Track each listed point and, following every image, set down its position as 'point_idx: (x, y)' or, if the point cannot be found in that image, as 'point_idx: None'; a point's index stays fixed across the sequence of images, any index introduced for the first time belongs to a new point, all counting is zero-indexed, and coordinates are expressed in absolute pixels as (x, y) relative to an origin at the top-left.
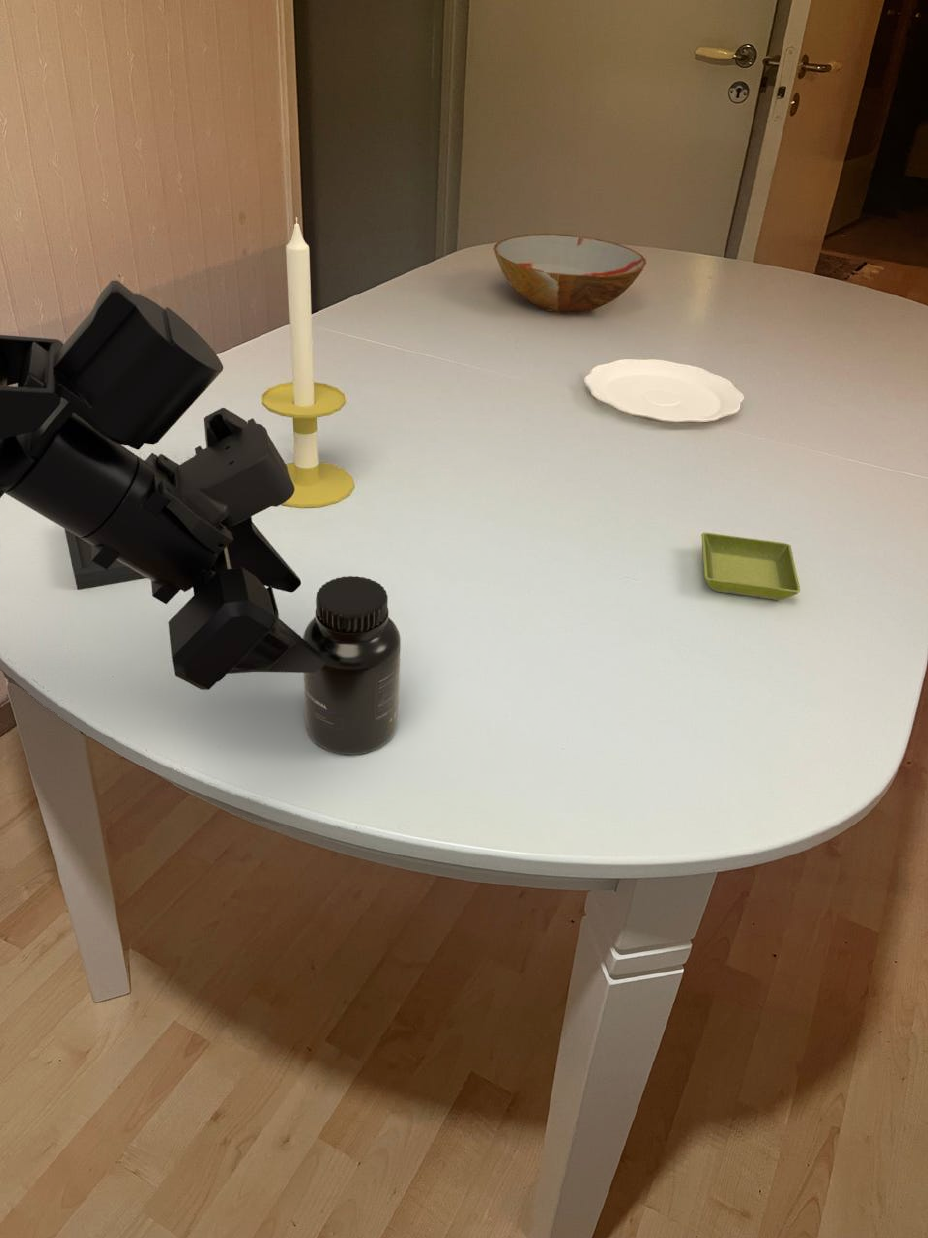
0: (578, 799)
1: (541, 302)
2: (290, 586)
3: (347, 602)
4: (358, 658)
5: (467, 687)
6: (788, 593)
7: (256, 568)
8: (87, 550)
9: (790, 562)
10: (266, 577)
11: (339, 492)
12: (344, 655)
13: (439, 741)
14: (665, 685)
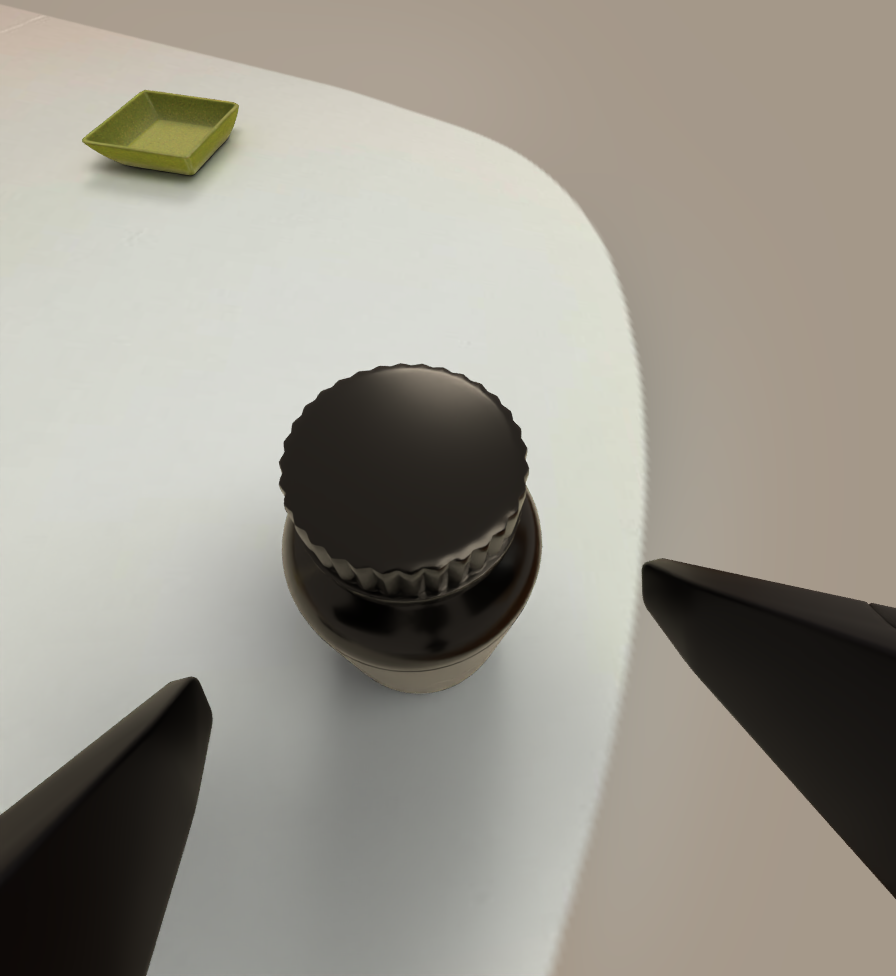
0: (552, 339)
1: None
2: (199, 722)
3: (449, 466)
4: (528, 503)
5: None
6: (235, 113)
7: (106, 934)
8: None
9: (179, 98)
10: (157, 850)
11: None
12: (528, 534)
13: None
14: (360, 242)
